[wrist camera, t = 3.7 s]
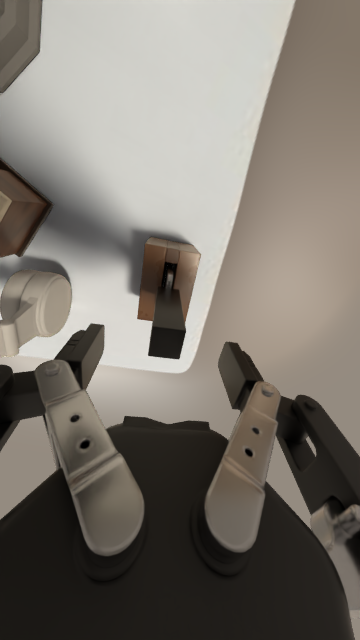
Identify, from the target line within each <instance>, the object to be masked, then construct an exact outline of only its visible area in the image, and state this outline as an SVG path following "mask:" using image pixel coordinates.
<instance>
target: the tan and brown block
mask: <svg viewBox="0 0 360 640" xmlns="http://www.w3.org/2000/svg"><path fill="white" fill-rule="evenodd" d="M53 206H54V204H53V203H52V202H51V201H49V200H48V199H47V198H46V197H45V196H44V195H43V194H41V193H40V192H39V191H38V190H37V189H36V188H34V187H33V186H32V185H31V184H30V183H29V182H28V181H26V180H25V179H24V178H23V177H22V176H21V175H19V174H18V173H17V172H16V171H15V170H14V169H13V168H11V167H10V166H9V165H8V164H7V163H6V162H5V161H3V160H2V159H1V158H0V258H1V257H5V256H9V255H13V254H16V255H17V256H18V257H22V256H23V254H24V252H25V251H26V249H27V248H28V246H29V244H30V243H31V241H32V240H33V238H34V236H35V235H36V233H37V232H38V230H39V228H40V227H41V225H42V224H43V222H44V220H45V219H46V217H47V216H48V214H49V212H50V211H51V209H52V208H53Z"/></svg>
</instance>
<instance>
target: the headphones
mask: <svg viewBox="0 0 360 640" xmlns="http://www.w3.org/2000/svg"><path fill="white" fill-rule="evenodd" d="M71 301H72V292H71V287H70V284H69V282H68V281H67V280H66V278H65V277H64V276H62V275H60V274H57V273H53V272H40V271H36V270H21V271H18V272H16V273H15V274H14V275H12V276H11V277H10V279H9V280H8V281H7V283H6V284H5V286H4V289H3V291H2V294H1V299H0V312H1V316H2V319H3V320H0V358H2V357H4V356H7V357H11V356H15V355H17V354H18V353H19V348H20V347H21V346H22V345H23V344H25V343H27V342H28V341H30V340H31V339H33V338H34V337H36V336H39V337H51V336H53V335H55V334H57V333H58V332H59V331H60V330H61V329H62V328H63V326H64V325H65V323H66V321H67V318H68V316H69V312H70V308H71Z"/></svg>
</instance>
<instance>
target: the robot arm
mask: <svg viewBox="0 0 360 640" xmlns="http://www.w3.org/2000/svg"><path fill="white" fill-rule="evenodd" d="M103 350H104V325H100V324H92V323H91V324H90V325H89V327H88V328H87V330H86V331H84V330H80V331H78V332H76V333H75V334H73V335H72V337H71V338H70V339H69V341H68V342H67V343H66V345H65V346H64V347H63V348H62V349H61V351H60V352H59V353H58V354H57V356H56V357H55V358H54V360H50V361H47V362H44V363H42V364H40V365H39V366H38V367H37V368H36V369H35V371H28V372H20V373H13V371H12V369H11V367H9V366H7V365H0V451H1V450H2V448H3V446H4V445H5V443H6V442H7V440H8V439H9V437H10V436H11V434H12V432H13V431H14V429H15V428H16V426H17V425H18V423H19V422H20V420H22V419H27V418H32V417H37V416H43V420H44V423H45V427H46V431H47V434H48V438H49V442H50V445H51V449H52V454H53V458H54V462H55V466H56V471H55V472H54V473H53V474H52V475H51V476H50V477H48V478H47V479H46V480H45V481H44V482H43V483H42V484H41V485H39V486H38V487H37V488H36V489H35V490H34V491H33V492H31V493H30V494H29V495H28V496H27V497H26V498H25V499H23V500H22V501H21V502H20V503H19V504H18V505H17V506H15V507H14V508H13V509H12V510H11V511H10V512H9V513H8V514H6V515H5V516H4V517H3V518H2V519H1V520H0V640H355V638H354V633H353V629H352V624H351V618H360V457H359V455H358V454H357V453H356V451H355V450H354V449H353V447H352V446H351V445H350V443H349V442H348V441H347V440H346V439H345V437H344V436H343V434H342V433H341V432H340V430H339V429H338V427H337V426H336V425H335V424H334V422H333V421H332V420H331V418H330V417H329V416H328V414H327V413H326V412H325V410H324V409H323V408H322V406H321V405H320V404H319V403H318V402H317V401H315V400H314V399H312V398H310V397H308V396H305V395H298V396H297V397H296V398H295V400H292V399H289V398H286V397H283V396H281V395H280V393H279V391H278V390H277V389H276V388H275V387H274V386H273V385H271V384H269V383H267V382H264V380H263V378H262V376H261V375H260V373H259V371H258V370H257V368H256V367H255V365H254V363H253V361H252V360H251V358H250V356H249V355H248V354H246V353H245V352H244V351H242V350H241V349H240V347H239V345H238V343H233V342H225V344H224V347H223V349H222V352H221V355H220V358H219V362H218V368H219V371H220V374H221V377H222V380H223V383H224V386H225V388H226V392H227V394H228V398H229V401H230V403H231V406H232V409H238V410H240V412H241V413H240V415H239V417H238V419H237V422H236V424H235V426H234V428H233V430H232V433H231V435H230V437H229V439H228V440H227V439H226V438H225V437H224V436H222V435H221V434H219V433H217V432H215V431H213V430H211V429H210V427H209V422H201V421H184V422H179V423H173V424H165V423H162V422H158V421H155V420H152V419H149V418H145V417H131V416H125V417H124V421H123V423H121V424H117V425H114V426H111V427H109V428H107V429H105V427H104V425H103V423H102V421H101V419H100V417H99V415H98V413H97V411H96V409H95V407H94V405H93V403H92V401H91V399H90V397H89V395H88V393H87V391H86V388H87V386H88V384H89V382H90V380H91V378H92V375H93V373H94V371H95V369H96V367H97V365H98V363H99V361H100V358H101V356H102V354H103ZM275 435H276V437H277V439H278V441H279V444H280V446H281V448H282V451H283V453H284V455H285V457H286V460H287V462H288V464H289V466H290V468H291V471H292V473H293V475H294V478H295V480H296V482H297V484H298V487H299V489H300V491H301V494H302V496H303V498H304V500H305V503H306V505H307V507H308V509H309V512H310V514H311V519H310V524H311V529H312V531H311V529H310V528H309V527H308V526H307V525H306V524H305V523H304V522H303V521H302V520H301V519H300V518H299V516H298V515H296V513H295V512H294V511H293V510H292V509H291V508H290V507H289V506H288V504H287V503H286V502H285V501H284V500H283V499H282V498H281V497H280V496H279V495H278V494H277V493H276V491H275V490H274V489H273V488H272V487H271V486H270V485H269V484H268V483H267V482H266V477H267V472H268V468H269V463H270V458H271V454H272V449H273V445H274V440H275ZM308 436H309V438H310V439H311V441H312V443H313V444H314V446H315V448H316V454H317V455H316V457H315V455H314V453H313V452H312V450H311V448H310V446H309V444H308V443H307V441H306V438H307V437H308Z"/></svg>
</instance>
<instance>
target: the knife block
mask: <svg viewBox="0 0 360 640" xmlns="http://www.w3.org/2000/svg"><path fill="white" fill-rule="evenodd" d="M200 256H201V254H200V253H199V251H198V250H197V249H196V248H195V247H194V246H193V245H189V244H184V243H179V242H174V241H169V240H164V239H159V238H154V237H150V238H149V239H148V241H147V242H146V243H145V249H144V259H143V269H142V278H141V288H140V298H139V308H138V317H137V319H141V320H148V321H153V316H154V308H155V301H156V294H157V287H158V286H160V287H161V284H162V277H163V271H164V264H165V262H169V263H173V280H172V286H171V288H172V289H178V290H179V291H180V297H181V303H182V309H183V316H184V322H185V321H186V317H187V312H188V308H189V304H190V299H191V295H192V291H193V286H194V282H195V278H196V273H197V269H198V265H199V260H200Z"/></svg>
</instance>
